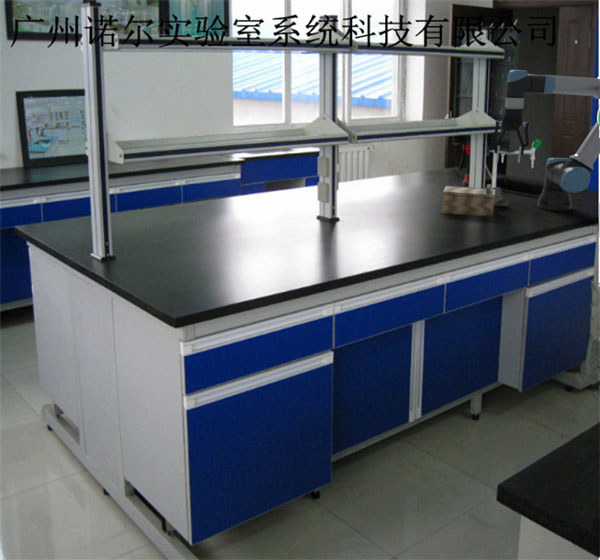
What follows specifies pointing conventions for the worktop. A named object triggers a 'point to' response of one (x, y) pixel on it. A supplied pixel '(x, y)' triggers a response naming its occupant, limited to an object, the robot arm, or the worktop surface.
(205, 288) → the worktop surface
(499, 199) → the stone
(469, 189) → the cover plate
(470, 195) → the box
